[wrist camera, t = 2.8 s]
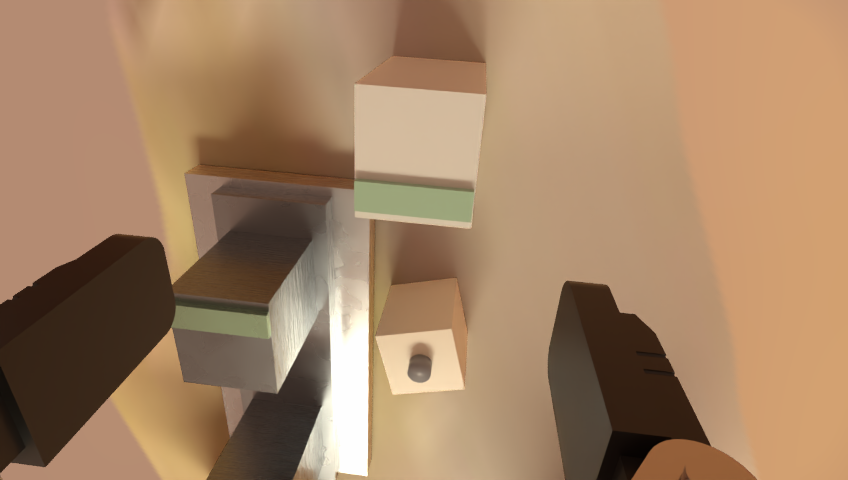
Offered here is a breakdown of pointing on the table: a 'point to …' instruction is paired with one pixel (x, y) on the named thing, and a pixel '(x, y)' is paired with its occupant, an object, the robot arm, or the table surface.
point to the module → (419, 140)
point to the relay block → (423, 337)
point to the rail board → (281, 321)
